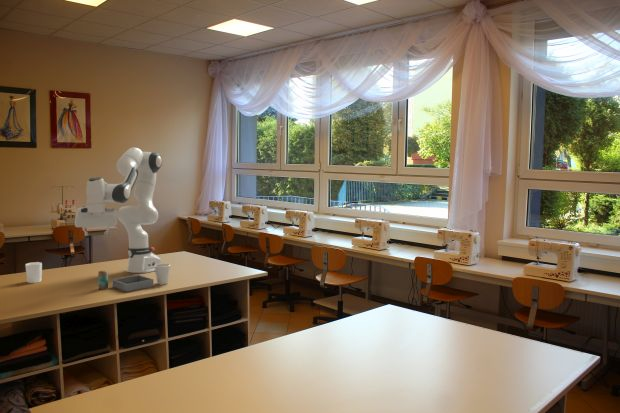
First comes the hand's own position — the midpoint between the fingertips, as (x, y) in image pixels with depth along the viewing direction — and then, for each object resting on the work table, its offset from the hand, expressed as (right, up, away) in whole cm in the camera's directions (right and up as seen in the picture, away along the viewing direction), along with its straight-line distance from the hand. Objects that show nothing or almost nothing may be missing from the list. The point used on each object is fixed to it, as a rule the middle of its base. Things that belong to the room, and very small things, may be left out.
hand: (96, 235), depth 260 cm
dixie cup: (+32, -27, +10) cm, 43 cm away
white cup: (-39, -26, +12) cm, 49 cm away
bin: (+19, -27, +1) cm, 33 cm away
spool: (+5, -28, -2) cm, 28 cm away
